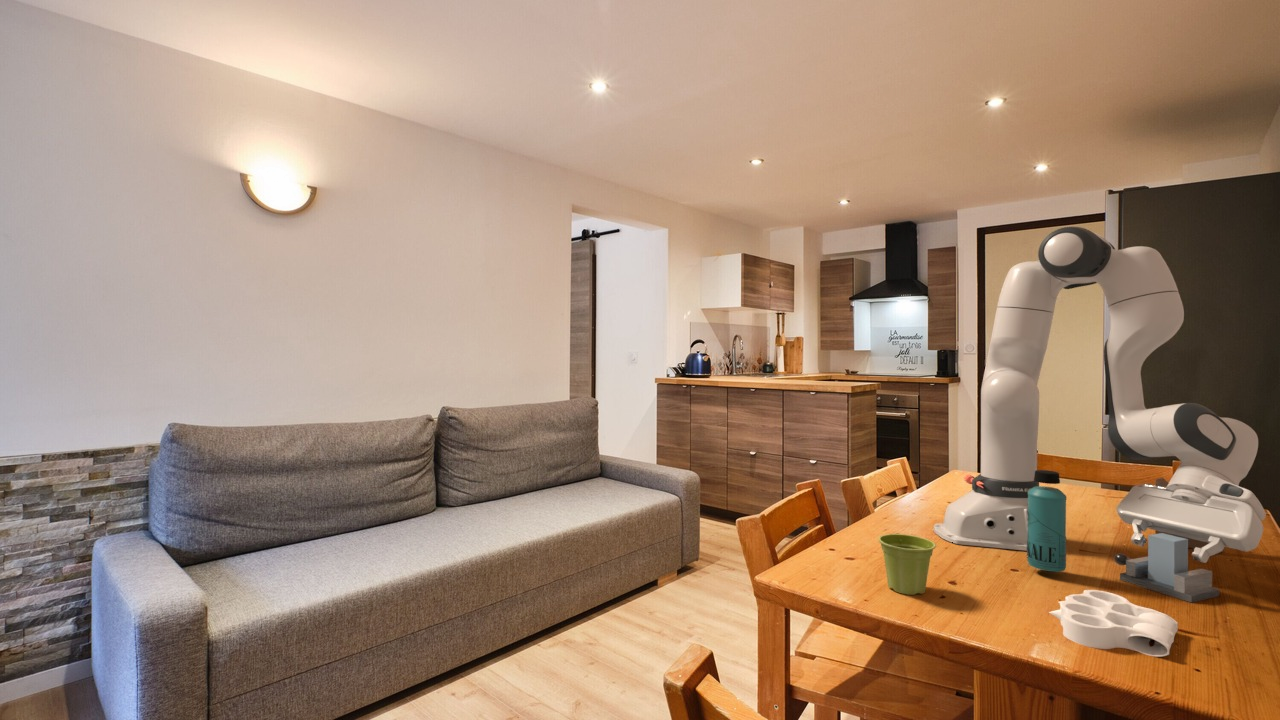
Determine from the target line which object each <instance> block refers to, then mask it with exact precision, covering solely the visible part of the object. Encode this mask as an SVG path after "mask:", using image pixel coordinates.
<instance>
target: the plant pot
mask: <svg viewBox="0 0 1280 720" xmlns="http://www.w3.org/2000/svg"><path fill="white" fill-rule="evenodd" d="M878 542H879V543H880V545H881V549H882V551H883V559H884V565H885V571H886V572H885V573H886V581H887V586H888V588H889V589H893V590H894V591H895V592H896V593H899V594H903V595H907V596H908V595H909V596H914V595H917V594H920V595H923V594H924V593H925V592H926V588H927V581H928V576H929V574H928V573H929V568H930V562H931V557H932V556H933V551H934V550H935V549H936V544H935V542H934V541H932V540H930V539H927V538H924V537H921V536H916V535H912V534H902V533H888V534H882V535H880V536H879V537H878Z"/></svg>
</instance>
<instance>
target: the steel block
mask: <svg viewBox="0 0 1280 720" xmlns="http://www.w3.org/2000/svg"><path fill="white" fill-rule="evenodd" d="M1147 536H1148V538H1147V556H1148V579H1151V580H1154V581H1157V582H1161V583H1164V584H1167V585H1171V586H1174V574H1178V573H1183V572H1187V571H1189V548H1188V539H1185V538H1181V537H1177V536H1173V535H1168V534H1164V533H1159V534H1148V535H1147Z"/></svg>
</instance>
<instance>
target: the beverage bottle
mask: <svg viewBox="0 0 1280 720" xmlns="http://www.w3.org/2000/svg"><path fill="white" fill-rule="evenodd" d="M1034 481H1036V482H1039V484H1049V485H1051V484H1052V485H1058V484H1059V485H1060V484H1061V479H1060V473H1059V472H1057V471H1054V470H1047V469H1046V470H1045V469H1037V470H1036V471H1035V477H1034ZM1027 508H1028V511H1027V515H1028V516H1027V517H1028V525H1027V526H1028V532H1027V533H1028V536H1027V537H1028V539H1027V540H1028V541H1027V551H1026V559H1027V564H1028V565H1029V566H1030V567H1032V568H1035V569H1038V570H1041V571H1046V572H1064V571H1065V570H1066V568H1067V536H1066V532H1067V526H1066V525H1067V495H1066V494H1065V493H1064V492H1063V491H1062V490H1061V489H1059V488H1055V487H1051V486H1040V485H1039V486H1037V487H1033V488H1032V489H1030V490H1029V491H1028V507H1027Z"/></svg>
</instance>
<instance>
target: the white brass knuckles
mask: <svg viewBox="0 0 1280 720" xmlns="http://www.w3.org/2000/svg"><path fill="white" fill-rule="evenodd" d="M1064 598H1065V599H1064V600H1062V601H1057V603H1058V604H1059V606H1060V607H1059V609H1056V610H1052V611H1048V613H1049V614H1051V615H1052V616H1054V617H1055V618H1056V619H1059V621H1060V626H1062V635H1063V637H1065V638H1066V639H1068V640H1069V641H1072V642H1074V643H1076V644H1078V645H1081V646H1085V647H1088V648H1093V649H1102V650H1111V649H1115V648H1118V649H1119V648H1121V649H1127V650H1131V651H1133V652H1134V651H1135V652H1137V653H1141V654H1142V655H1147V656H1150V657H1157V658H1159V657H1166V656H1169V655H1170V650H1171V647H1172V644H1173V643H1174V639H1175V635H1176V633H1177V632H1178V629H1179V628H1178V627H1179V623H1178V621H1176V620H1175V619H1174V618H1173V617H1171V616H1170V615H1168V614H1167V613H1163V612H1160V611H1158V610H1155V609H1152V608H1149V607H1144V606H1141V605H1136V604H1134V603H1131V602H1130V601H1129V600H1128V599H1127V598H1126V597H1124V596H1122V595H1119V594H1117V593H1112V592H1108V591H1105V590H1097V589H1085V590H1083V592H1082V593H1078V594H1073V593H1072V594H1069V595H1067V596H1065V597H1064ZM1151 640H1154V644H1153V646H1150V642H1151Z"/></svg>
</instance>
